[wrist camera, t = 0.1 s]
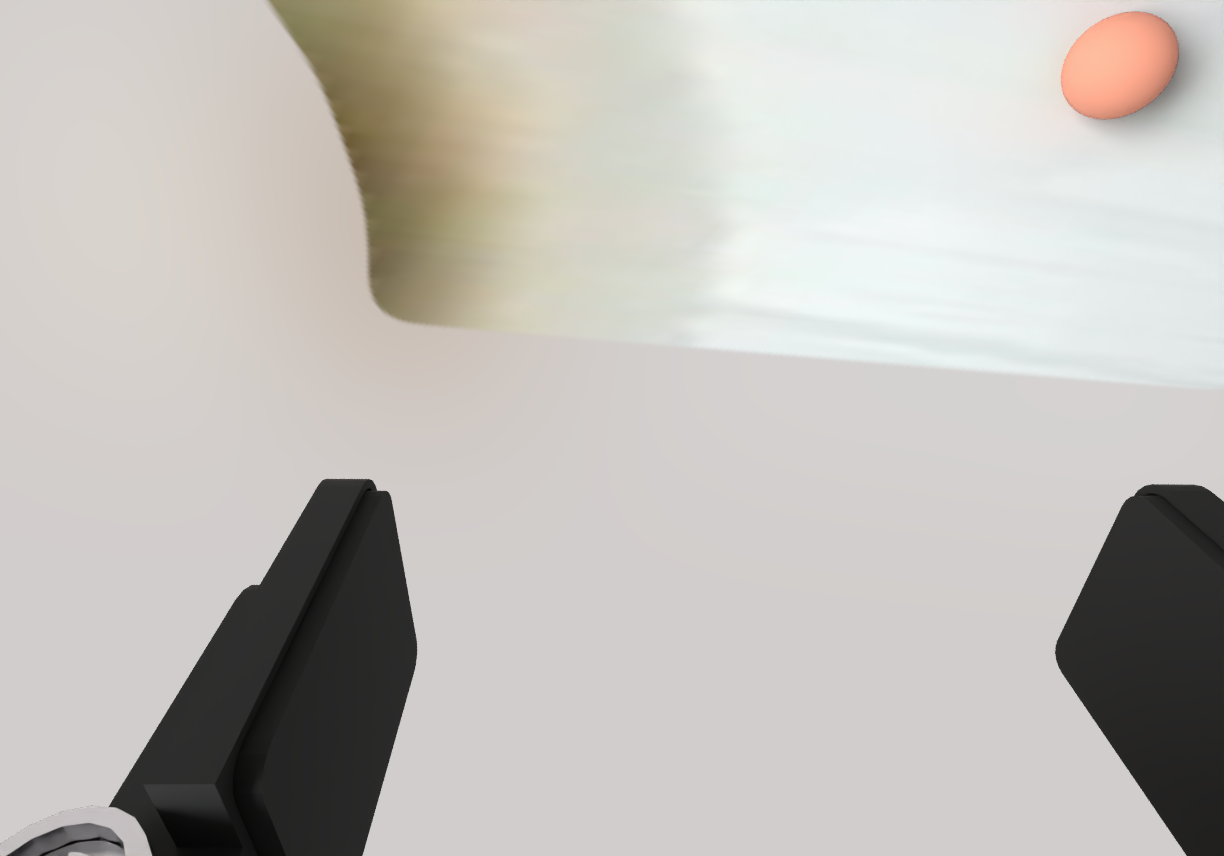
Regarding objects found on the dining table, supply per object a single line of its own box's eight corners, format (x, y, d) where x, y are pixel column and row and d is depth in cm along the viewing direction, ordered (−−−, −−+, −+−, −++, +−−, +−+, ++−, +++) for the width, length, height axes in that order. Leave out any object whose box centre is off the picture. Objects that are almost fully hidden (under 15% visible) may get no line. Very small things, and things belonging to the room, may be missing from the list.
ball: (1060, 10, 38) (1118, 11, 34) (1152, 11, 38) (1222, 13, 34) (1030, 111, 41) (1080, 125, 36) (1116, 113, 41) (1177, 126, 36)
